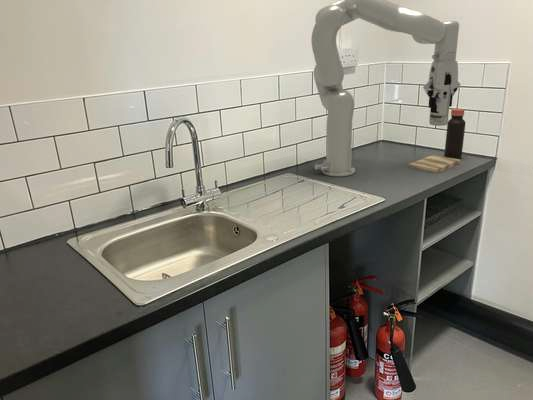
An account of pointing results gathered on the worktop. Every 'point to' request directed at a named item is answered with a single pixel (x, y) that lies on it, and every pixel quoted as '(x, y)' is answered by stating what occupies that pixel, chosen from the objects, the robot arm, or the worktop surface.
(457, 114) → the bottle
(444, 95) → the spray can
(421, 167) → the oak board
